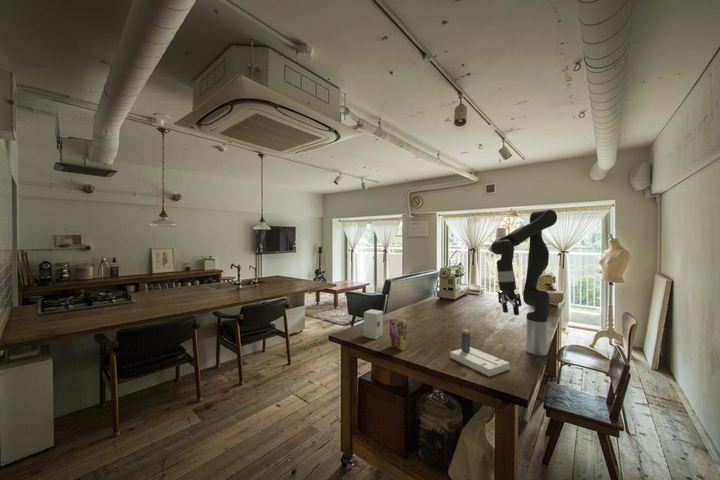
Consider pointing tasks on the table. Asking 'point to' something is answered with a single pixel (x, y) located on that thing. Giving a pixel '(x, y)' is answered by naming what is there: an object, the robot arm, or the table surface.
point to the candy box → (398, 333)
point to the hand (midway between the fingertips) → (510, 313)
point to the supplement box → (373, 324)
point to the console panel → (480, 361)
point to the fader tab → (466, 341)
